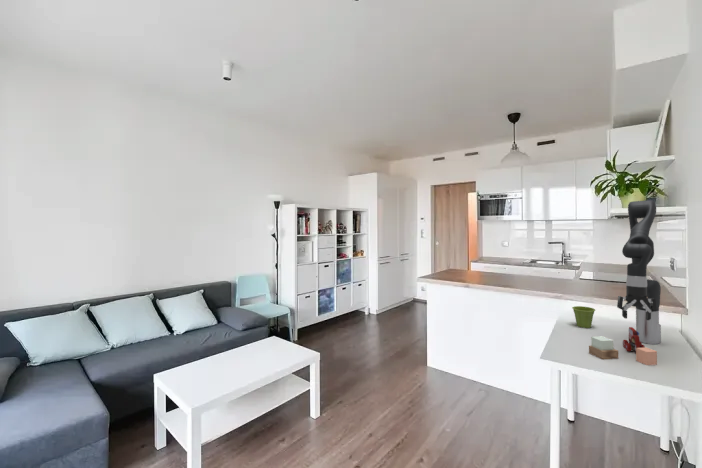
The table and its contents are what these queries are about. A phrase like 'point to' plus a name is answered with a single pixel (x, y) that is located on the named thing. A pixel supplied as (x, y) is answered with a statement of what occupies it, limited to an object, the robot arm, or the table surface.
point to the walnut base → (603, 353)
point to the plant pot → (583, 316)
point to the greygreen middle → (602, 343)
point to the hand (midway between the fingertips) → (636, 319)
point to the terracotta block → (646, 356)
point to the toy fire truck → (632, 340)
